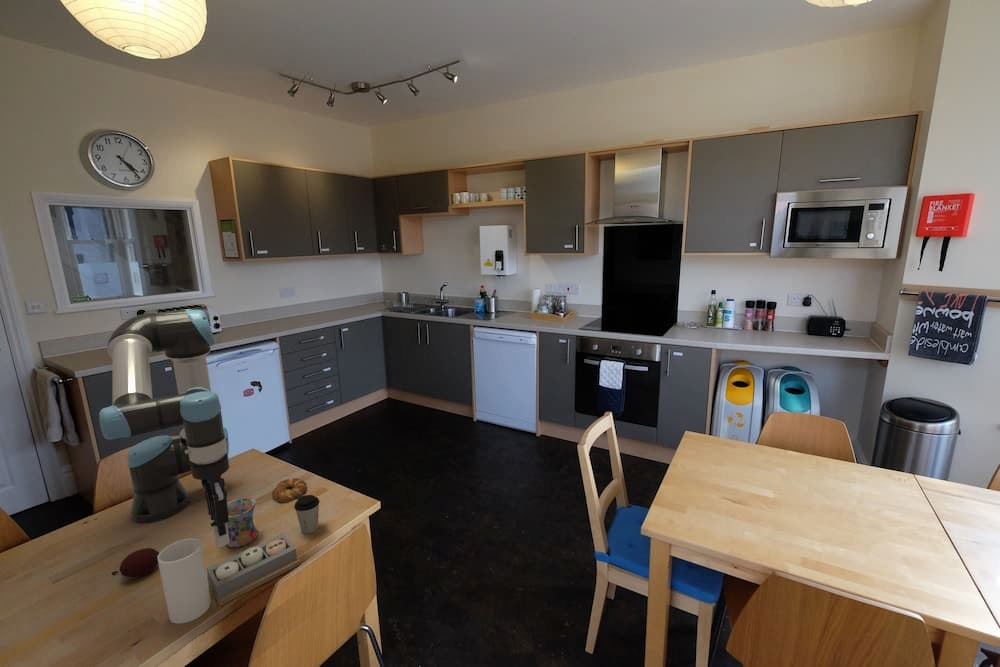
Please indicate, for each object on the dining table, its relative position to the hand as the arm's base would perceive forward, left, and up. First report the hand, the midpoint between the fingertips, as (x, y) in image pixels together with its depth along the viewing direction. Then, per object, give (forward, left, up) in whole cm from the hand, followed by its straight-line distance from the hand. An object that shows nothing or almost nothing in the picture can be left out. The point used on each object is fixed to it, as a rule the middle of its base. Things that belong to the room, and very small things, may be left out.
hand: (222, 544), depth 110 cm
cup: (+2, -9, -12) cm, 15 cm away
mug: (-18, +8, -12) cm, 23 cm away
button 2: (0, +6, -9) cm, 11 cm away
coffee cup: (-7, +23, -12) cm, 27 cm away
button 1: (0, 0, -10) cm, 10 cm away
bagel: (-31, +27, -12) cm, 43 cm away
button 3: (0, +12, -10) cm, 15 cm away
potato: (-22, -15, -12) cm, 29 cm away
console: (0, +6, -11) cm, 13 cm away
